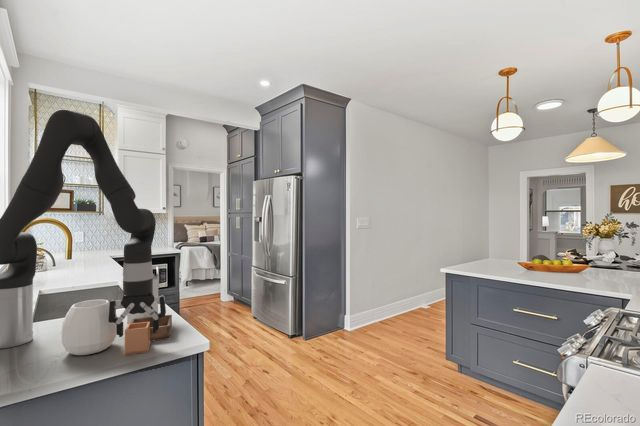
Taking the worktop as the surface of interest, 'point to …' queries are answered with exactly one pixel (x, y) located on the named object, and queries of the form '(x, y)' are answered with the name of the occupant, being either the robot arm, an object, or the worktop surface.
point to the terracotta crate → (137, 338)
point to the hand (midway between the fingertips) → (138, 334)
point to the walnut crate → (164, 327)
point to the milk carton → (154, 305)
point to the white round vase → (88, 328)
